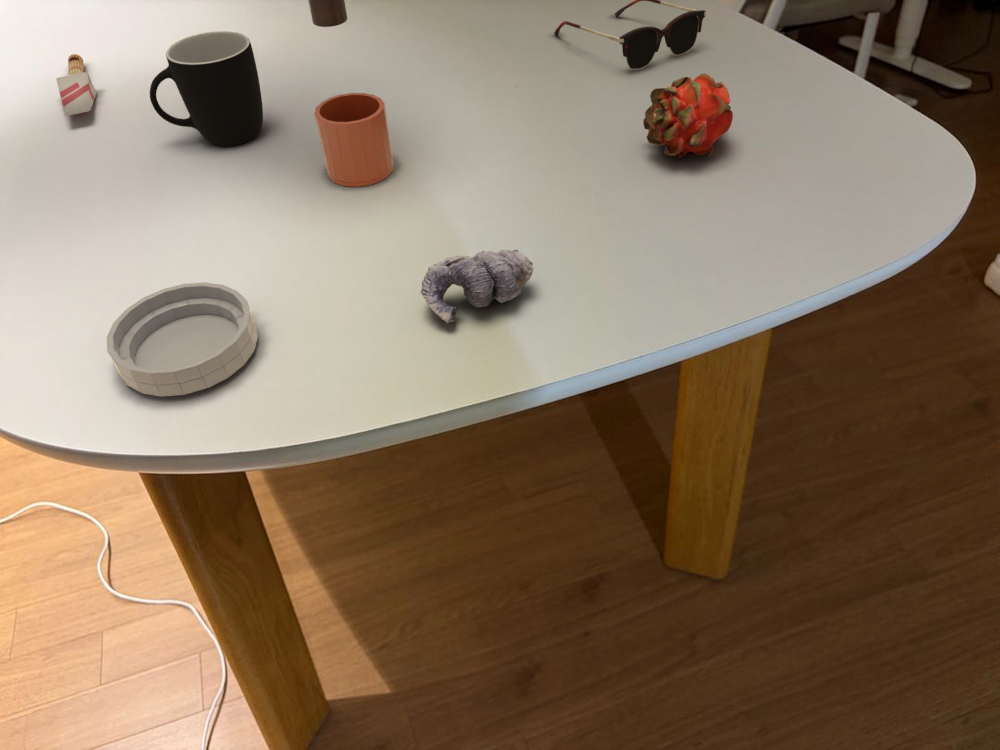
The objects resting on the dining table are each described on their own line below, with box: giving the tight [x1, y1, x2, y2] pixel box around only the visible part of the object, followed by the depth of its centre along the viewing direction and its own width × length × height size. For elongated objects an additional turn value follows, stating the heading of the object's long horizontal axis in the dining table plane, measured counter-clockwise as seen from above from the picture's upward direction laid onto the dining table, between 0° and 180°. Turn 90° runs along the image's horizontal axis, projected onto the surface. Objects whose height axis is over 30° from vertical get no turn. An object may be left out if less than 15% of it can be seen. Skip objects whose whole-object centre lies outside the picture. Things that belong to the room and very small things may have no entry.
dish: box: [106, 281, 259, 397], centre depth 64 cm, size 11×11×3 cm
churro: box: [55, 53, 98, 117], centre depth 102 cm, size 4×3×20 cm
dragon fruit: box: [642, 73, 734, 159], centre depth 84 cm, size 8×8×12 cm
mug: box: [149, 30, 264, 147], centre depth 89 cm, size 12×9×10 cm
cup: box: [314, 92, 394, 188], centre depth 83 cm, size 7×7×7 cm
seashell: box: [420, 249, 534, 325], centre depth 67 cm, size 5×5×10 cm
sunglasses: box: [554, 0, 707, 70], centre depth 106 cm, size 14×16×5 cm
